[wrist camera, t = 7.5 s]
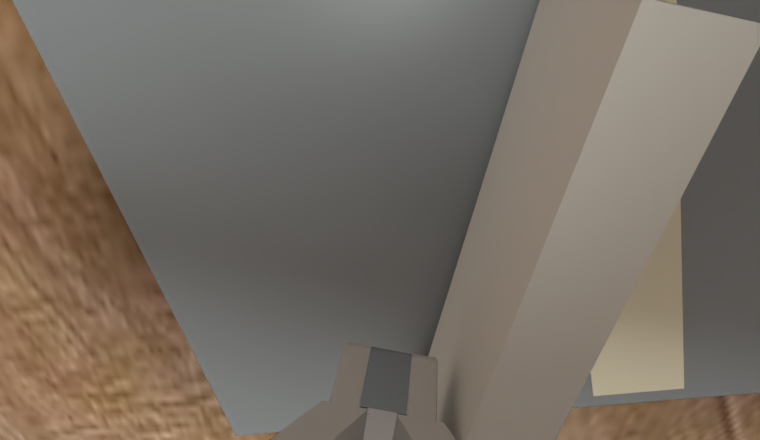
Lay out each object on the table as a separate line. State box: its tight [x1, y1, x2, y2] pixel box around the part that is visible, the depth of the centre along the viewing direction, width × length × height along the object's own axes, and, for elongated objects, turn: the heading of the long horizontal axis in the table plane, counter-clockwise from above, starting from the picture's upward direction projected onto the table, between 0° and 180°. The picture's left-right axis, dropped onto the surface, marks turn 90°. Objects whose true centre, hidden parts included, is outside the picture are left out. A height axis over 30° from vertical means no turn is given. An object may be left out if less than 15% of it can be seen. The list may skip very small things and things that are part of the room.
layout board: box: [12, 0, 760, 435], centre depth 12 cm, size 26×16×1 cm, turn 105°
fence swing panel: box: [427, 0, 760, 440], centre depth 10 cm, size 11×2×7 cm, turn 169°
